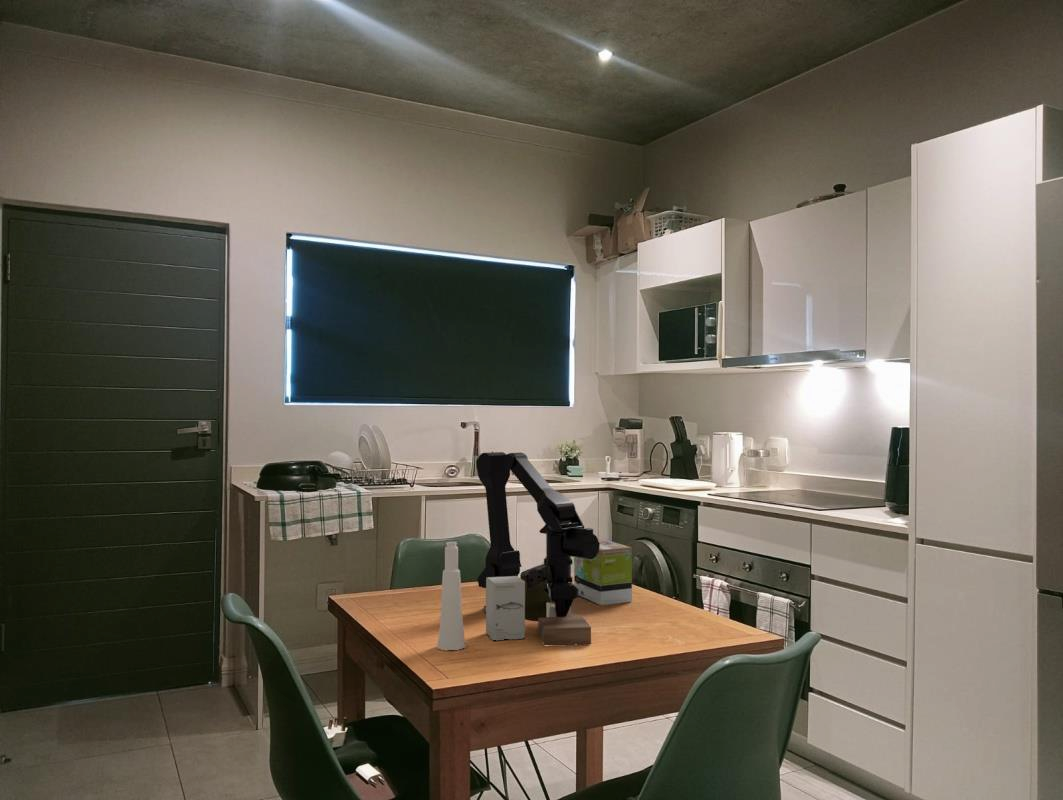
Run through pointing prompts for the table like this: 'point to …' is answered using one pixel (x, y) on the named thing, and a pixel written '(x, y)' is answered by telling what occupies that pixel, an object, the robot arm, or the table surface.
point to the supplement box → (505, 608)
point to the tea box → (605, 574)
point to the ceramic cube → (553, 610)
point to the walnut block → (564, 630)
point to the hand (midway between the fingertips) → (558, 621)
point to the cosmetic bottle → (451, 603)
